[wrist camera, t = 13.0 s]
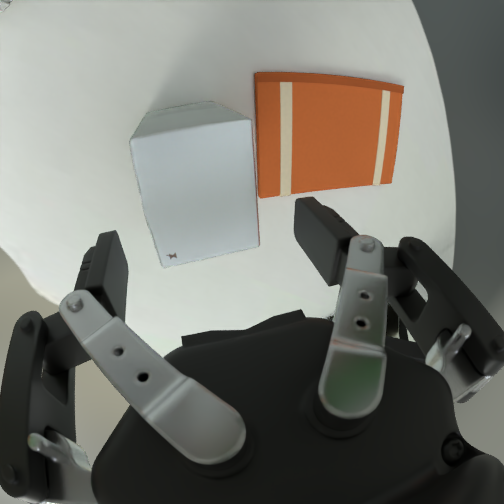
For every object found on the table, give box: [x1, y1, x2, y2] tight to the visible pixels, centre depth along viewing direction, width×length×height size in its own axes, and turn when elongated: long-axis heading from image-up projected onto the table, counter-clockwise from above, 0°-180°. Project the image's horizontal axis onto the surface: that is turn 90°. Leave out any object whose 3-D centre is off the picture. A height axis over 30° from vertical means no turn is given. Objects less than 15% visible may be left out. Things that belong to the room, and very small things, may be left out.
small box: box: [129, 101, 260, 268], centre depth 20 cm, size 8×6×13 cm
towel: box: [255, 72, 404, 198], centre depth 28 cm, size 13×18×1 cm
